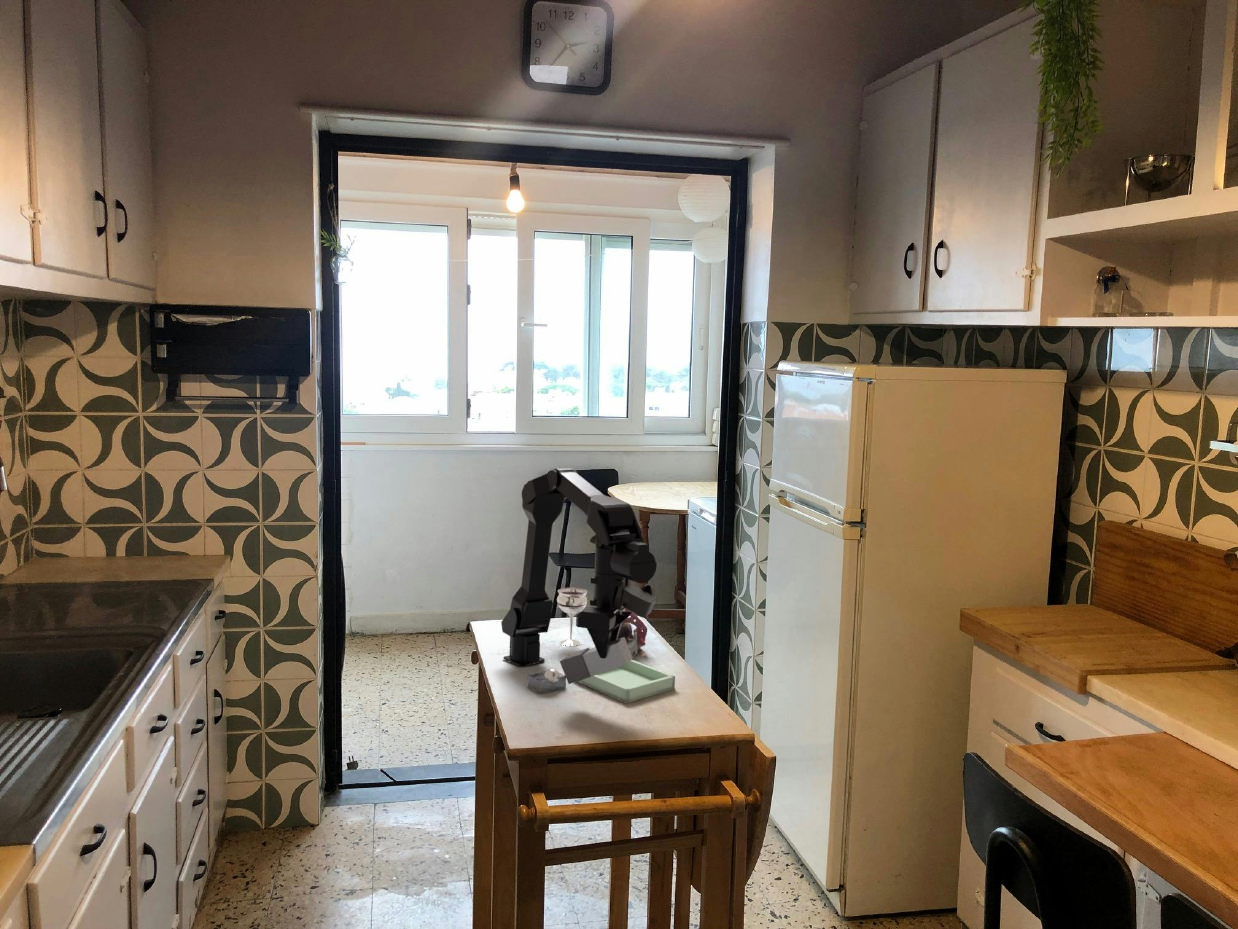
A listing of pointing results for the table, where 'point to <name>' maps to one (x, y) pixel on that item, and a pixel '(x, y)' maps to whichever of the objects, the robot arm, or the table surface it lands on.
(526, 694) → the table surface
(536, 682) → the stud mount
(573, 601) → the wineglass
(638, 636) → the brake caliper
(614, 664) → the strut
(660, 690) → the tray
